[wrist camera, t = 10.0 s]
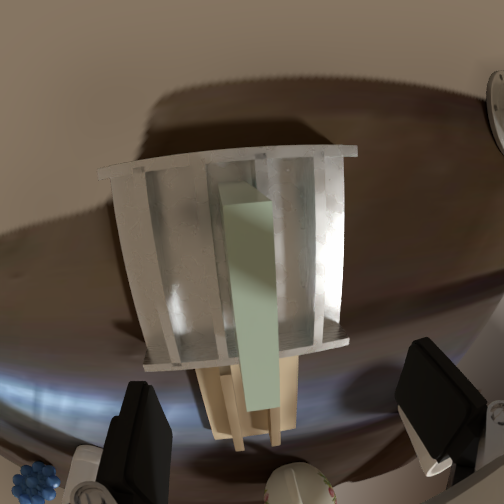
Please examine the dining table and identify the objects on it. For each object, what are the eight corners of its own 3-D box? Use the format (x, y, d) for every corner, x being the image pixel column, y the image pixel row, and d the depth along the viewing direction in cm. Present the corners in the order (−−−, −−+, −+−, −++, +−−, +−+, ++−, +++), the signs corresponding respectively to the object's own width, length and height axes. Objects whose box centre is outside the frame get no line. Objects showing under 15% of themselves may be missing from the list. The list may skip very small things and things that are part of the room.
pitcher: (318, 434, 35) (348, 511, 22) (325, 477, 41) (346, 534, 28) (243, 454, 34) (257, 535, 21) (268, 493, 40) (282, 551, 27)
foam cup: (387, 397, 34) (430, 463, 22) (438, 365, 34) (487, 420, 22) (390, 426, 38) (424, 482, 25) (435, 399, 38) (474, 448, 25)
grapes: (33, 468, 33) (20, 508, 22) (15, 449, 31) (-1, 492, 20) (74, 478, 35) (64, 524, 23) (56, 460, 32) (42, 510, 21)
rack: (334, 144, 23) (357, 144, 19) (332, 323, 28) (348, 345, 24) (114, 164, 21) (96, 167, 17) (151, 345, 26) (145, 372, 23)
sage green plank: (244, 180, 21) (272, 201, 12) (255, 322, 25) (280, 406, 16) (217, 183, 21) (222, 205, 12) (233, 324, 25) (247, 411, 16)
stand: (294, 334, 28) (306, 358, 24) (292, 419, 33) (300, 443, 29) (192, 347, 27) (191, 374, 23) (214, 430, 32) (215, 455, 28)
